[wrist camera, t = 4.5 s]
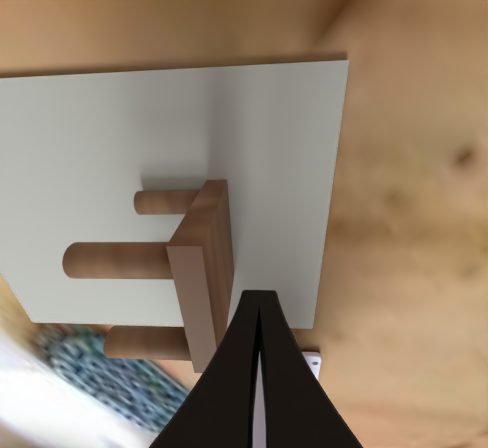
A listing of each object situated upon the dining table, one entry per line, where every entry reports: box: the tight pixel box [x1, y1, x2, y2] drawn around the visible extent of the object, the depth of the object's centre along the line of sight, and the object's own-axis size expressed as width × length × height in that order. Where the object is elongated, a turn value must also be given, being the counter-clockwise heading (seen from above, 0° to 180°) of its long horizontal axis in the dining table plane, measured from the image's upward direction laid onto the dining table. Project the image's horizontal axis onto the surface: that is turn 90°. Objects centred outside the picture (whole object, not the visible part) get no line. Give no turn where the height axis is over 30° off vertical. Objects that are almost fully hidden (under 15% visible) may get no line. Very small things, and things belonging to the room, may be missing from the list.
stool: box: [62, 179, 234, 373], centre depth 13 cm, size 5×7×7 cm
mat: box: [0, 60, 350, 329], centre depth 16 cm, size 18×24×1 cm
